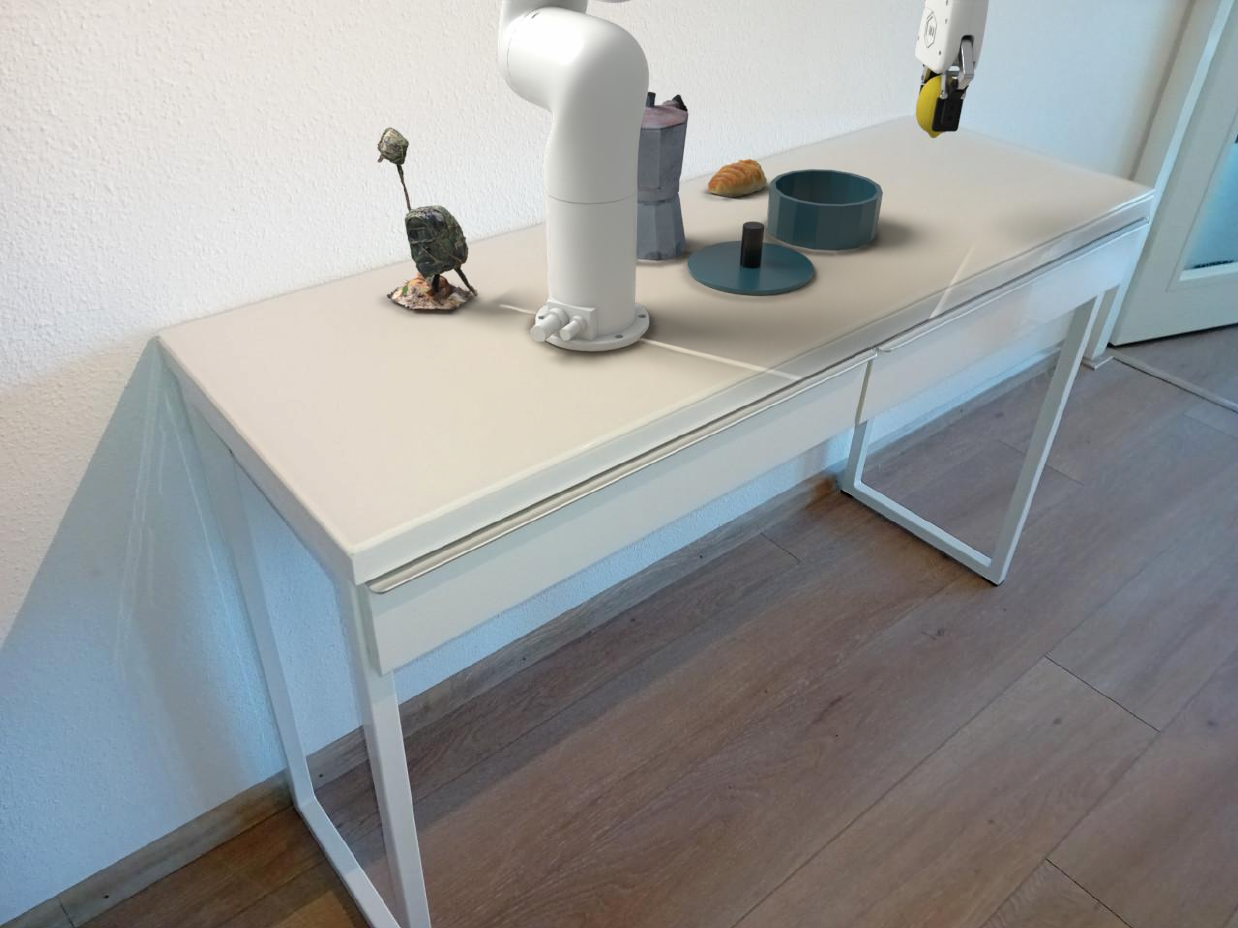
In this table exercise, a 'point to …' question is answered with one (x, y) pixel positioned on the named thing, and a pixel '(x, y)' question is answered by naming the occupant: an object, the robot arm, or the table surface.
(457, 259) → the stone sculpture
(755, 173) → the pastry
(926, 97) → the lemon
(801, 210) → the pot
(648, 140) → the moka pot
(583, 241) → the robot arm
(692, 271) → the lid
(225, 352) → the table surface
